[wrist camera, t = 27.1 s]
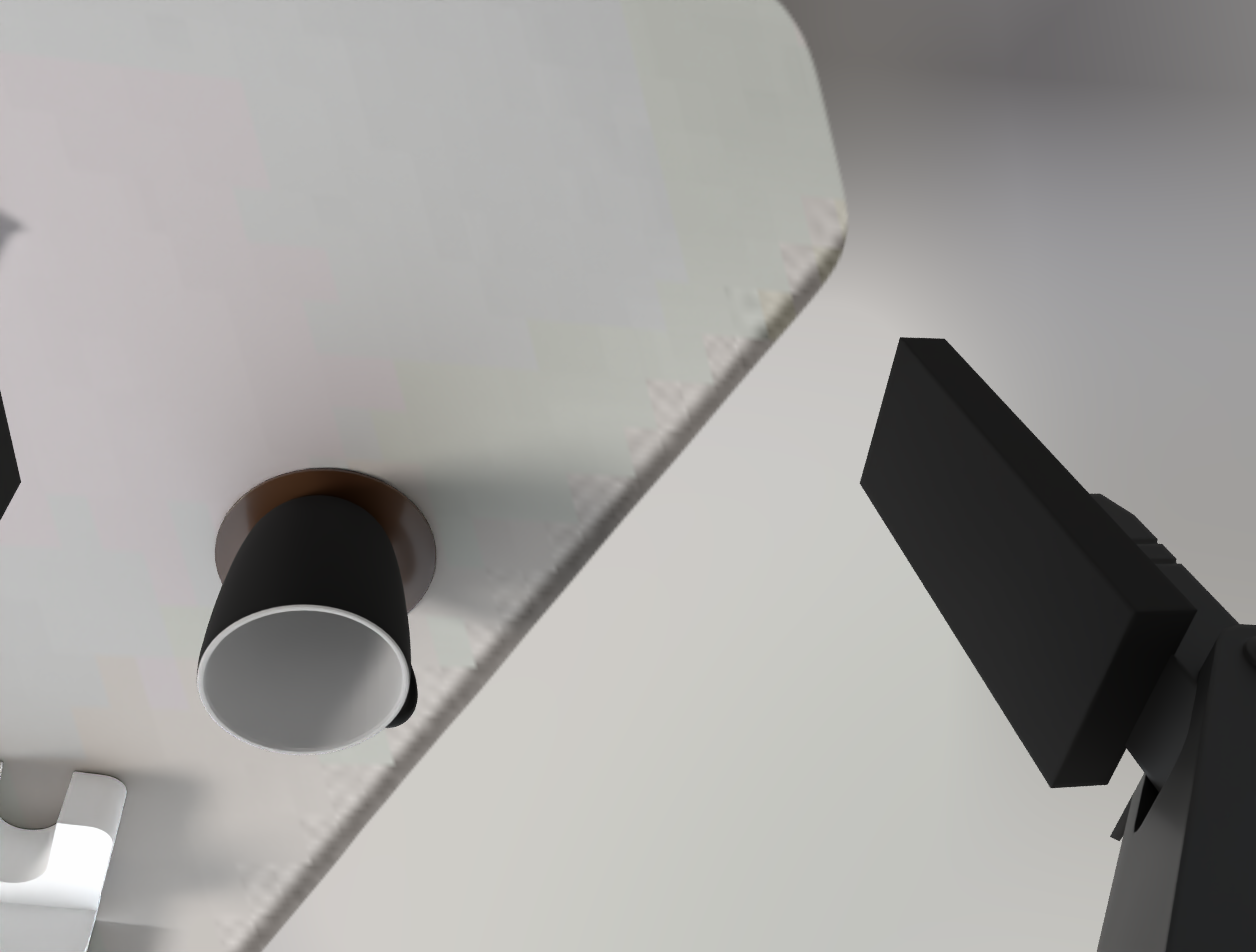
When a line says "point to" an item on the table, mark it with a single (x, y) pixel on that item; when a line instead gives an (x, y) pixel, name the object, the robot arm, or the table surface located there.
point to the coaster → (363, 490)
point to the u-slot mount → (59, 869)
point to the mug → (310, 633)
